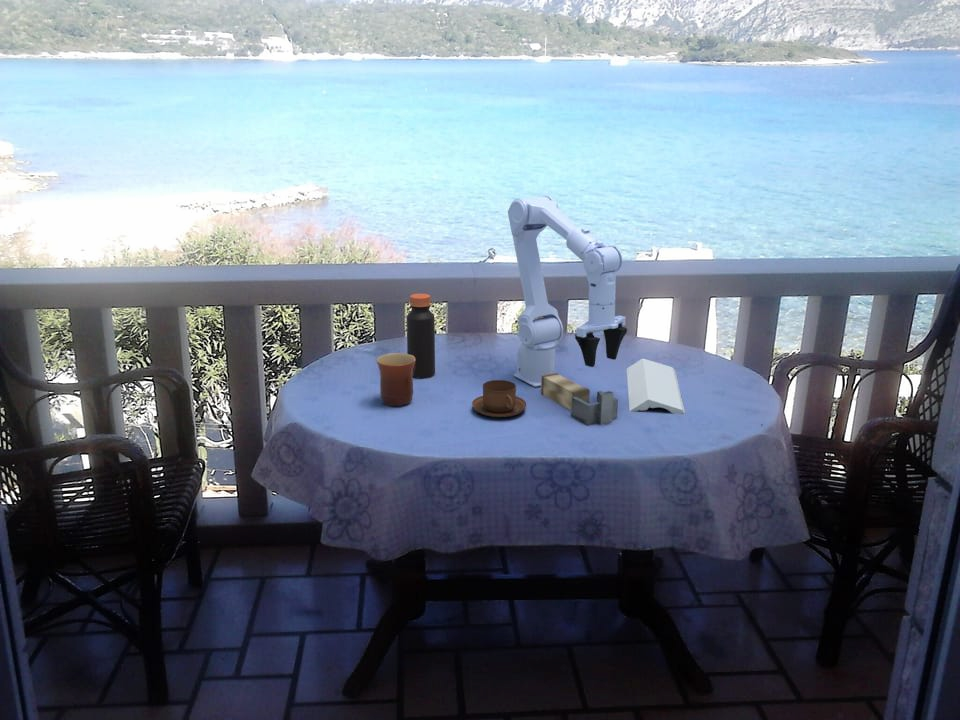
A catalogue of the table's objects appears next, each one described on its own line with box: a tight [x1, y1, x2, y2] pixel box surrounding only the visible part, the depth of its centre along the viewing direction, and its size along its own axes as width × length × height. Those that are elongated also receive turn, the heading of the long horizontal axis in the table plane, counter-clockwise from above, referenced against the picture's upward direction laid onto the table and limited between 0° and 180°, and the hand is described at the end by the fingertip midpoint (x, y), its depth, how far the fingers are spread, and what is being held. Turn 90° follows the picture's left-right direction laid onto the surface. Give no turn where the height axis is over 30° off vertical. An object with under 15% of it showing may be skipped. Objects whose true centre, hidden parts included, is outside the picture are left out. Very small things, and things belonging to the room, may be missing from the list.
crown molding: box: [626, 358, 686, 415], centre depth 210 cm, size 29×12×4 cm, turn 173°
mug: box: [376, 352, 416, 407], centre depth 201 cm, size 12×9×10 cm
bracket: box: [570, 390, 619, 426], centre depth 192 cm, size 7×8×7 cm
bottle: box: [406, 293, 436, 379], centre depth 216 cm, size 7×7×20 cm
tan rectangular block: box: [540, 372, 591, 411], centre depth 202 cm, size 13×4×5 cm, turn 31°
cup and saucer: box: [471, 379, 527, 418], centre depth 196 cm, size 12×12×6 cm
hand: (600, 362), depth 197 cm, fingers open, 7 cm apart
